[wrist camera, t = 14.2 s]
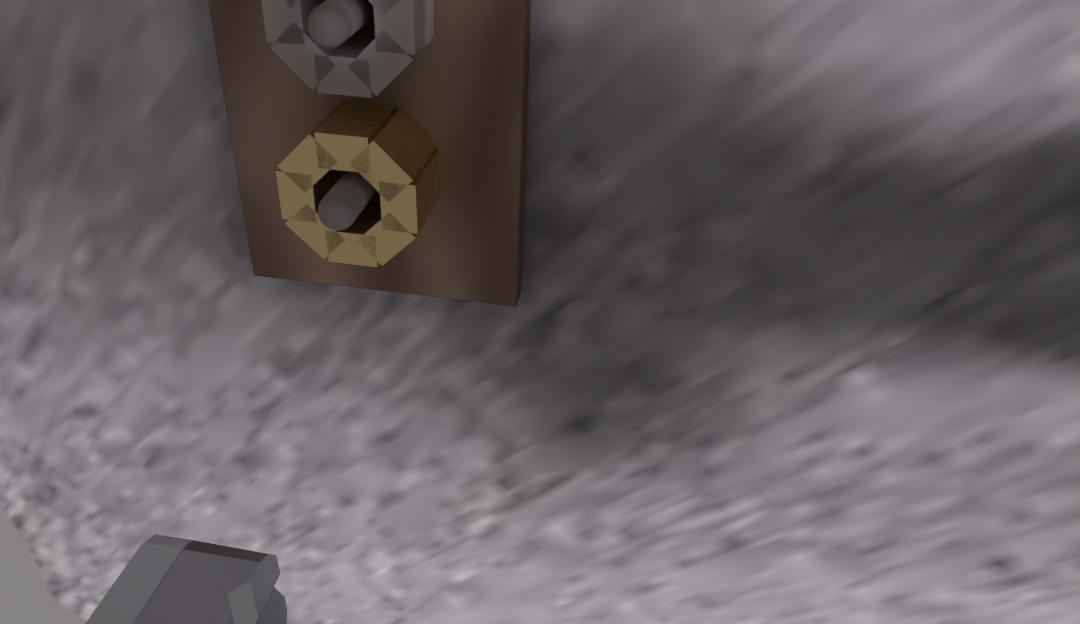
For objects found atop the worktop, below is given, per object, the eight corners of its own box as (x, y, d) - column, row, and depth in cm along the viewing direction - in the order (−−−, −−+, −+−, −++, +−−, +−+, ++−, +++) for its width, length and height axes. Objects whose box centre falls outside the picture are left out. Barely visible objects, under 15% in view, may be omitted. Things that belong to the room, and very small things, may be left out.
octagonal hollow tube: (438, 109, 38) (413, 142, 35) (441, 231, 42) (419, 272, 39) (305, 96, 39) (269, 127, 36) (319, 217, 43) (287, 256, 39)
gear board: (535, -138, 34) (499, -115, 28) (521, 291, 45) (493, 374, 39) (200, -159, 35) (97, -142, 29) (266, 261, 46) (201, 337, 40)
